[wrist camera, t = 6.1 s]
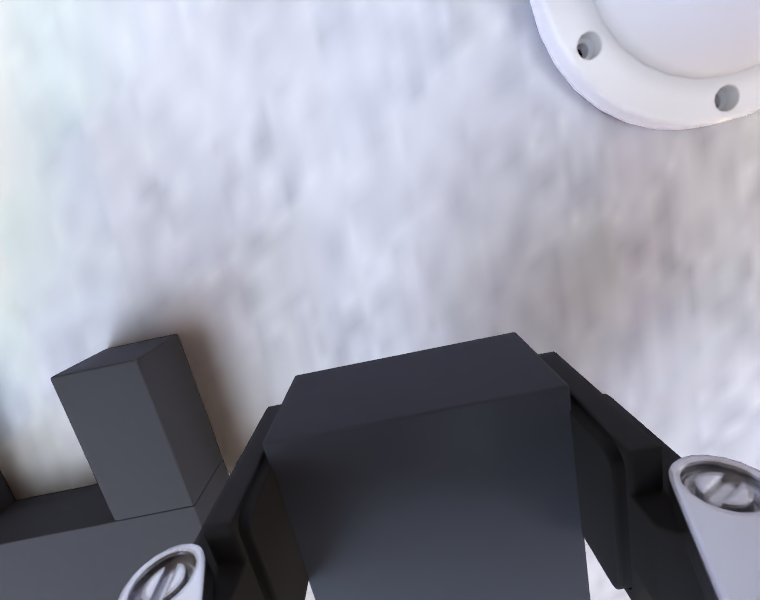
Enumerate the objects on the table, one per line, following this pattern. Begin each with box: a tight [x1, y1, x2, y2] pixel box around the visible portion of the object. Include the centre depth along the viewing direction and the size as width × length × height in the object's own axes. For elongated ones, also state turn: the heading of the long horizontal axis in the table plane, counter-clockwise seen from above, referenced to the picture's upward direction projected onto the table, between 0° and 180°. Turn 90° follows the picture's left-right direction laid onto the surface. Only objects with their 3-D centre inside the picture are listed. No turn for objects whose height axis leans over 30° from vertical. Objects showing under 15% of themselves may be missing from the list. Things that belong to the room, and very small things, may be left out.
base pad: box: [0, 334, 229, 600], centre depth 17 cm, size 12×14×3 cm
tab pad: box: [263, 332, 590, 600], centre depth 10 cm, size 10×6×3 cm, turn 12°
